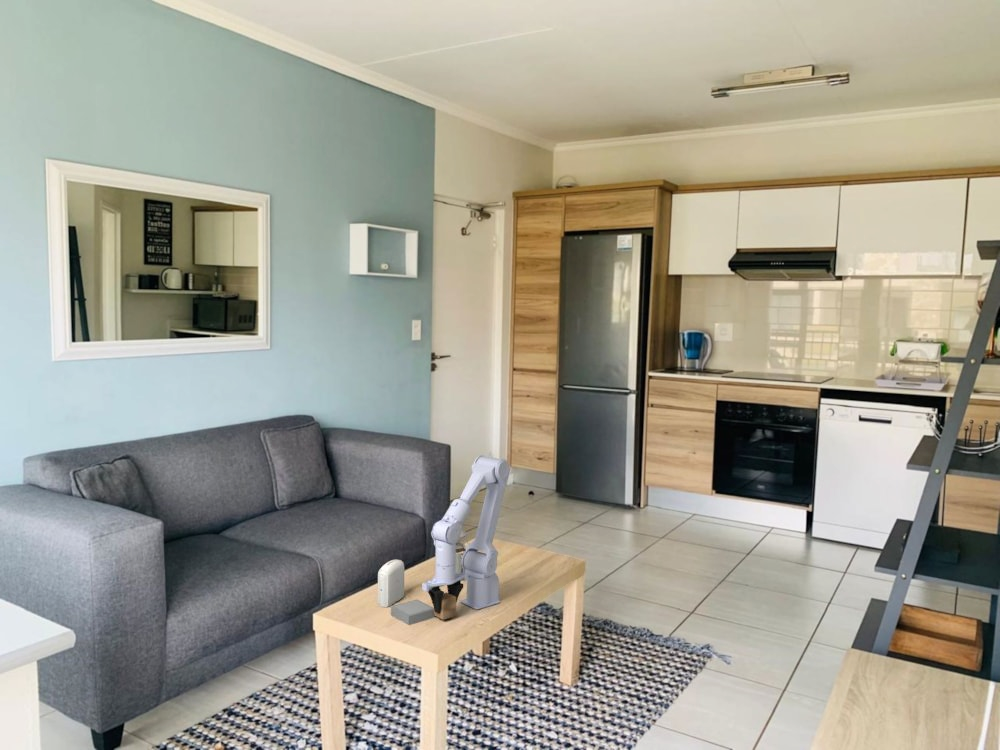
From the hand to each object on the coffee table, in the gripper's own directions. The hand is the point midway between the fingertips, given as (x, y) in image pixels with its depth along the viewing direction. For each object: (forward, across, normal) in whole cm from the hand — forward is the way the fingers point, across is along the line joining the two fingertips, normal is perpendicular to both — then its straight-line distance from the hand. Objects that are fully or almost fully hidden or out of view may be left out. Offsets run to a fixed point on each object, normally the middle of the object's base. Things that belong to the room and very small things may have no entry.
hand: (444, 610), depth 211 cm
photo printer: (+3, +5, -20) cm, 21 cm away
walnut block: (+2, 0, 0) cm, 2 cm away
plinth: (+2, +6, -7) cm, 10 cm away
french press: (+3, -25, -27) cm, 37 cm away
